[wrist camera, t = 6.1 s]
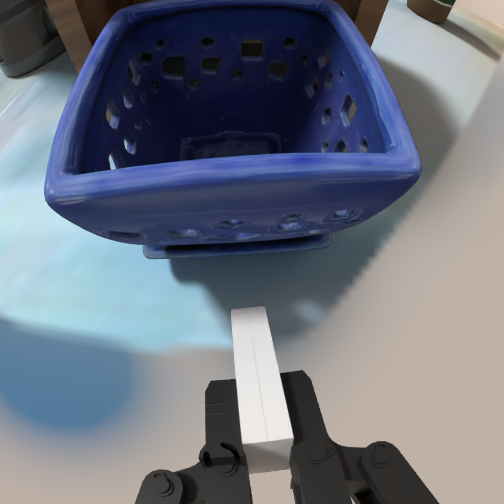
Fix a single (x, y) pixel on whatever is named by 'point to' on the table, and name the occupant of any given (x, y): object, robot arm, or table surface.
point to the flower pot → (229, 131)
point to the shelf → (108, 3)
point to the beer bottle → (432, 9)
